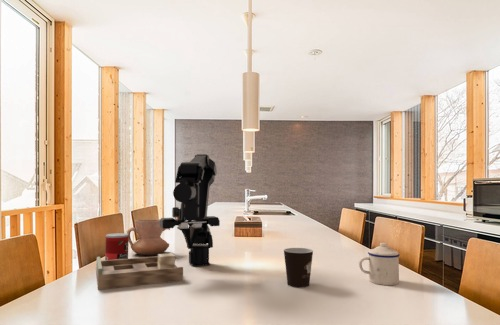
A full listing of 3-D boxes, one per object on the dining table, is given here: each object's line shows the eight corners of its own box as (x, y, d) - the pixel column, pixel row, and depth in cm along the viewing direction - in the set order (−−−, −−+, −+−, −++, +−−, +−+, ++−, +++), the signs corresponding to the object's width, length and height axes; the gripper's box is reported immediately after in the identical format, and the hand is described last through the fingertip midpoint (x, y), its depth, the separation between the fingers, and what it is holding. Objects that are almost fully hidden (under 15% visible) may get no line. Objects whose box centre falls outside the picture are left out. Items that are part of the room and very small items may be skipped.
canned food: (120, 268, 128) (121, 236, 129) (100, 267, 130) (101, 235, 131) (132, 263, 136) (132, 233, 137) (112, 262, 138) (113, 232, 138)
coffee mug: (294, 290, 103) (294, 254, 104) (278, 282, 111) (278, 249, 112) (327, 285, 109) (327, 250, 109) (309, 278, 116) (309, 246, 117)
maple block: (171, 267, 119) (171, 253, 120) (174, 270, 115) (174, 255, 116) (157, 268, 118) (157, 254, 118) (160, 271, 114) (160, 256, 114)
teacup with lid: (393, 278, 117) (393, 241, 118) (404, 286, 108) (403, 246, 109) (355, 277, 118) (355, 240, 118) (363, 285, 109) (362, 245, 109)
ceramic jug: (172, 250, 163) (172, 217, 163) (168, 256, 148) (168, 220, 149) (130, 251, 161) (130, 218, 161) (122, 258, 146) (122, 222, 147)
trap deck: (169, 266, 131) (169, 251, 131) (182, 280, 112) (183, 262, 113) (96, 273, 121) (96, 256, 121) (97, 289, 103) (98, 269, 103)
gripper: (209, 199, 132) (209, 243, 131) (156, 199, 124) (156, 246, 124) (220, 200, 122) (219, 248, 121) (163, 201, 114) (162, 252, 113)
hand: (189, 248), depth 120 cm, fingers closed
